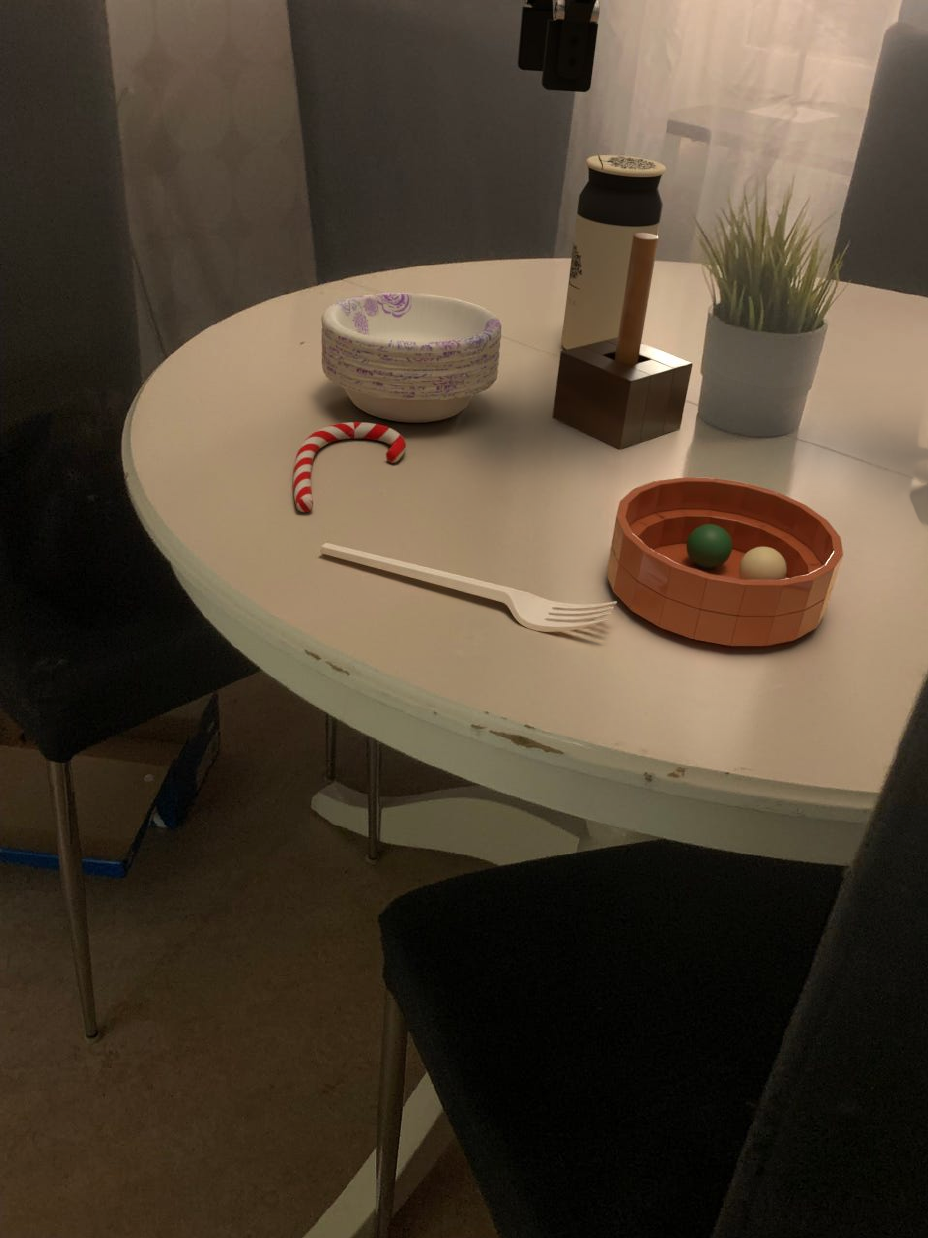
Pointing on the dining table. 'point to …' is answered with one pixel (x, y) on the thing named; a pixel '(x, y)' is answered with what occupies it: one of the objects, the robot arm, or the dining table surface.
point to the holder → (621, 393)
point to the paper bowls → (410, 353)
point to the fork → (489, 593)
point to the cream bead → (762, 565)
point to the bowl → (718, 598)
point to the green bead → (709, 546)
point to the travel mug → (608, 243)
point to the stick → (636, 298)
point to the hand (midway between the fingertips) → (551, 79)
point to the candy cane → (333, 434)
